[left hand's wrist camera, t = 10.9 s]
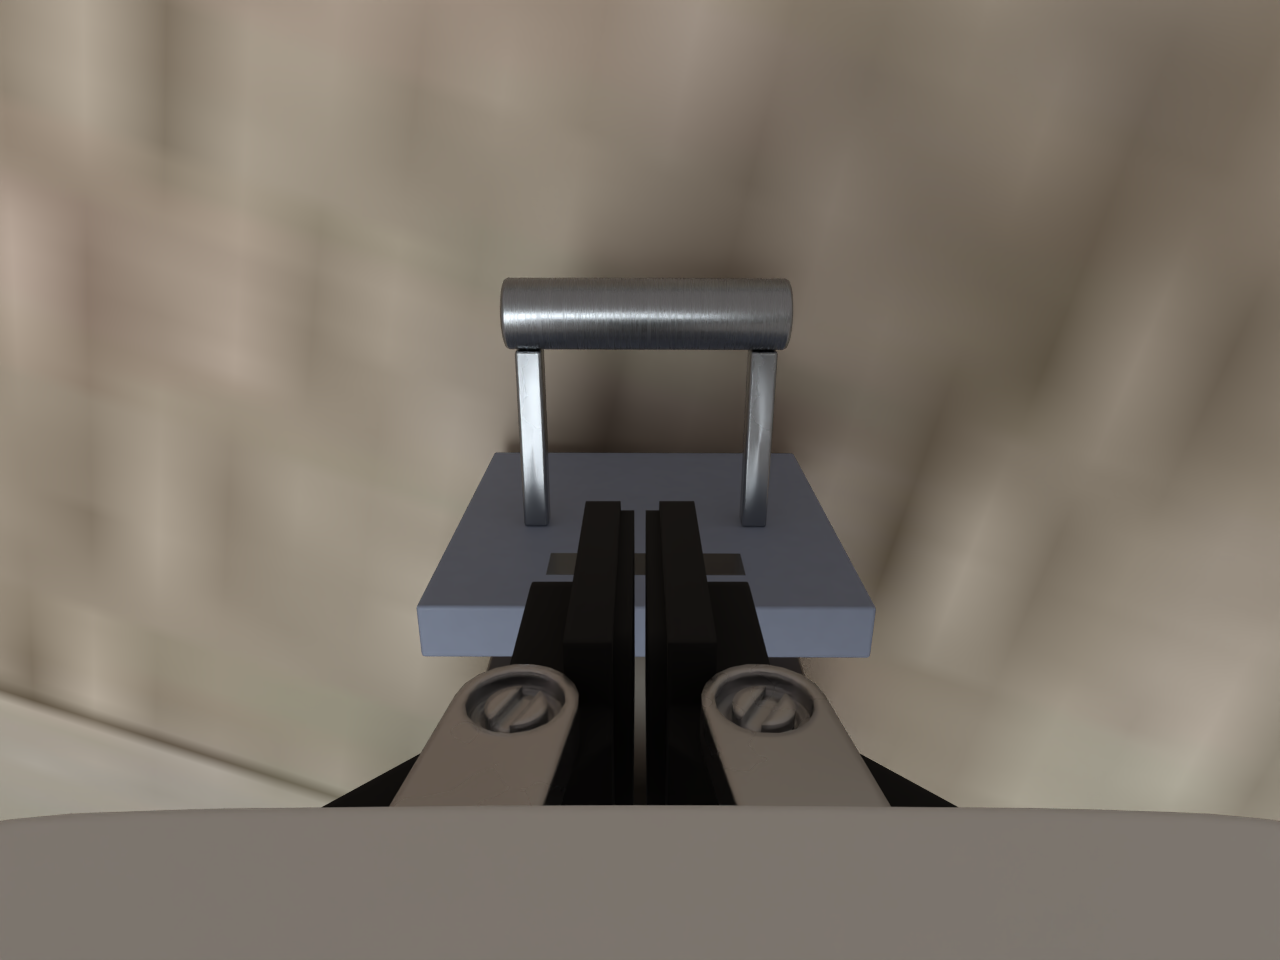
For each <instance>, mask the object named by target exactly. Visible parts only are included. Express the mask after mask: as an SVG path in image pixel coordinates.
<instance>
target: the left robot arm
mask: <svg viewBox="0 0 1280 960" xmlns="http://www.w3.org/2000/svg"><path fill="white" fill-rule="evenodd" d="M634 711H635V535H634V510H621V501H586V502H585V508H584V514H583V520H582V527H581V533H580V539H579V545H578V551H577V557H576V564H575V570H574V576H573V582H532V583H531V586H530V589H529V593H528V597H527V601H526V605H525V609H524V612H523V616H522V620H521V624H520V628H519V632H518V635H517V639H516V643H515V647H514V651H513V655H512V658H511V662H510V665H508V666H503V667H497V668H494V669H492V670H489V671H486V672H484V673H481V674H479V675H477V676H476V677H474V678H473V679H471V680H470V681H468V682H467V683H465V684H464V685H463V686H462V688H461V689H460V690H459V691H458V692H457V693H456V695H455V696H454V698H453V700H452V701H451V703H450V705H449V706H448V708H447V710H446V711H445V713H444V715H443V716H442V718H441V720H440V722H439V723H438V725H437V727H436V728H435V730H434V732H433V733H432V735H431V737H430V738H429V740H428V742H427V743H426V745H425V747H424V748H423V750H422V752H421V753H420V754H419V755H417V756H415V757H413V758H411V759H409V760H408V761H406V762H404V763H402V764H400V765H398V766H397V767H395V768H393V769H391V770H389V771H387V772H386V773H384V774H382V775H380V776H378V777H376V778H375V779H373V780H371V781H369V782H367V783H365V784H364V785H362V786H360V787H358V788H356V789H354V790H353V791H351V792H349V793H347V794H345V795H343V796H342V797H340V798H338V799H336V800H334V801H332V802H331V803H329V804H327V805H325V806H323V807H321V808H238V809H188V810H160V811H132V812H104V813H75V814H62V815H52V816H41V817H31V818H20V819H10V820H3V821H0V960H1280V821H1277V820H1270V819H1260V818H1249V817H1239V816H1228V815H1218V814H1205V813H1180V812H1151V811H1121V810H1091V809H1047V808H960V807H957V806H955V805H953V804H951V803H949V802H948V801H946V800H944V799H942V798H940V797H938V796H937V795H935V794H933V793H931V792H929V791H927V790H926V789H924V788H922V787H920V786H918V785H916V784H915V783H913V782H911V781H909V780H907V779H905V778H904V777H902V776H900V775H898V774H896V773H894V772H893V771H891V770H889V769H887V768H885V767H883V766H882V765H880V764H878V763H876V762H874V761H872V760H871V759H869V758H867V757H865V756H863V755H861V754H860V753H859V752H858V750H857V748H856V747H855V745H854V743H853V742H852V740H851V738H850V737H849V735H848V733H847V732H846V730H845V728H844V727H843V725H842V723H841V722H840V720H839V718H838V716H837V715H836V713H835V711H834V710H833V708H832V706H831V705H830V703H829V701H828V700H827V698H826V696H825V695H824V693H823V692H822V691H821V690H820V689H819V688H818V686H817V685H816V684H815V683H813V682H812V681H810V680H809V679H807V678H806V677H804V676H803V675H801V674H799V673H796V672H794V671H791V670H788V669H786V668H783V667H777V666H772V665H770V662H769V658H768V655H767V651H766V647H765V643H764V639H763V635H762V632H761V628H760V624H759V620H758V616H757V612H756V609H755V605H754V601H753V597H752V593H751V589H750V586H749V583H748V582H707V576H706V570H705V564H704V557H703V551H702V545H701V539H700V533H699V527H698V520H697V514H696V508H695V502H694V501H659V510H646V535H645V711H646V805H634Z"/></svg>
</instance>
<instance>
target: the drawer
mask: <svg viewBox="0 0 1280 960" xmlns="http://www.w3.org/2000/svg"><path fill="white" fill-rule="evenodd" d="M500 320H501V331H502V337H503V341H504V343H505V346H506V347H507V348H509V349H517V350H516V352H515V364H516V382H517V401H518V419H519V437H520V453H495V454H494V456H493V458H492V460H491V462H490V464H489V466H488V468H487V470H486V472H485V474H484V476H483V478H482V480H481V482H480V484H479V486H478V488H477V489H476V491H475V493H474V495H473V497H472V499H471V501H470V503H469V505H468V507H467V509H466V511H465V513H464V515H463V517H462V519H461V521H460V523H459V525H458V527H457V529H456V531H455V533H454V535H453V537H452V539H451V541H450V543H449V545H448V547H447V548H446V550H445V552H444V554H443V556H442V558H441V560H440V562H439V564H438V566H437V568H436V570H435V572H434V574H433V576H432V578H431V580H430V582H429V584H428V586H427V588H426V590H425V592H424V594H423V596H422V598H421V600H420V602H419V604H418V606H417V616H418V624H419V633H420V642H421V651H422V655H423V656H491V657H490V661H489V664H488V667H487V670H486V671H489V670H492V669H494V668H497V667H503V666H508V665H510V662H511V658H512V655H513V651H514V647H515V643H516V639H517V635H518V632H519V628H520V624H521V620H522V616H523V612H524V609H525V605H526V601H527V597H528V593H529V589H530V586H531V583H532V582H573V576H574V570H575V564H576V557H577V551H578V545H579V539H580V533H581V527H582V520H583V514H584V508H585V502H586V501H621V510H634V535H635V711H634V805H646V711H645V535H646V510H659V501H694V502H695V508H696V514H697V520H698V527H699V533H700V539H701V545H702V551H703V557H704V564H705V570H706V576H707V582H748V583H749V586H750V589H751V593H752V597H753V601H754V605H755V609H756V612H757V616H758V620H759V624H760V628H761V632H762V635H763V639H764V643H765V647H766V651H767V655H768V658H769V662H770V665H772V666H777V667H783V668H786V669H788V670H791V671H794V672H796V673H799V674H801V675H803V676H804V677H805V674H804V671H803V668H802V665H801V662H800V659H799V657H869V656H870V651H871V643H872V635H873V627H874V619H875V611H876V608H875V606H874V604H873V602H872V600H871V599H870V597H869V595H868V593H867V591H866V589H865V587H864V585H863V584H862V582H861V580H860V578H859V576H858V574H857V572H856V571H855V569H854V567H853V565H852V563H851V561H850V559H849V557H848V556H847V554H846V552H845V550H844V548H843V546H842V544H841V542H840V541H839V539H838V537H837V535H836V533H835V531H834V529H833V528H832V526H831V524H830V522H829V520H828V518H827V516H826V514H825V513H824V511H823V509H822V507H821V505H820V503H819V501H818V499H817V498H816V496H815V494H814V492H813V490H812V488H811V486H810V485H809V483H808V481H807V479H806V477H805V475H804V473H803V471H802V470H801V468H800V466H799V464H798V462H797V460H796V458H795V456H794V455H793V454H790V453H771V445H772V430H773V415H774V400H775V385H776V370H777V355H778V354H777V352H776V351H775V350H783V349H786V348H787V346H788V343H789V341H790V337H791V331H792V323H793V294H792V288H791V285H790V282H789V280H787V279H725V278H507V279H505V280H504V281H503V284H502V288H501V296H500ZM544 349H630V350H748V362H747V381H746V400H745V419H744V438H743V453H548V437H547V413H546V389H545V364H544Z"/></svg>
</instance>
